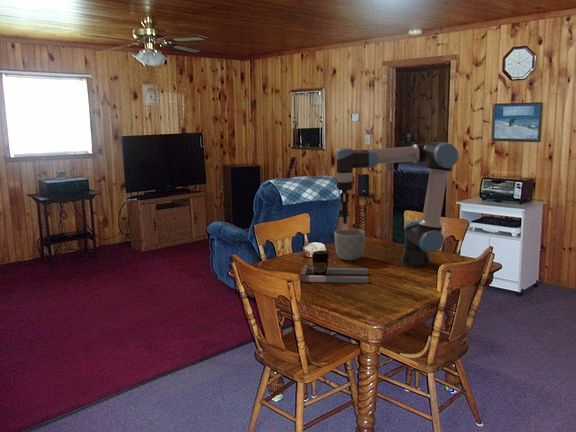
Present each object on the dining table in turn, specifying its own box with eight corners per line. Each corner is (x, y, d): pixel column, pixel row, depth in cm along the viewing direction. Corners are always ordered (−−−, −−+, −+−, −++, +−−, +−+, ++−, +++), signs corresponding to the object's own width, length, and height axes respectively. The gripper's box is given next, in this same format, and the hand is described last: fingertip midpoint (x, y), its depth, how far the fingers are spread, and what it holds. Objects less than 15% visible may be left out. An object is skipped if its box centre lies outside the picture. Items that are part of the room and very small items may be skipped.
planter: (357, 264, 281) (357, 236, 278) (329, 260, 290) (328, 233, 287) (370, 256, 295) (370, 230, 292) (342, 253, 304) (342, 227, 301)
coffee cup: (328, 280, 256) (328, 254, 253) (311, 279, 257) (310, 254, 254) (329, 274, 264) (329, 249, 262) (313, 274, 265) (312, 249, 263)
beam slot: (367, 273, 264) (367, 265, 264) (367, 283, 250) (367, 274, 249) (304, 272, 269) (304, 264, 268) (300, 281, 255) (300, 273, 254)
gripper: (337, 179, 257) (338, 226, 261) (335, 183, 244) (336, 232, 248) (353, 179, 255) (353, 226, 260) (352, 183, 243) (352, 232, 247)
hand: (345, 229), depth 254 cm, fingers closed
